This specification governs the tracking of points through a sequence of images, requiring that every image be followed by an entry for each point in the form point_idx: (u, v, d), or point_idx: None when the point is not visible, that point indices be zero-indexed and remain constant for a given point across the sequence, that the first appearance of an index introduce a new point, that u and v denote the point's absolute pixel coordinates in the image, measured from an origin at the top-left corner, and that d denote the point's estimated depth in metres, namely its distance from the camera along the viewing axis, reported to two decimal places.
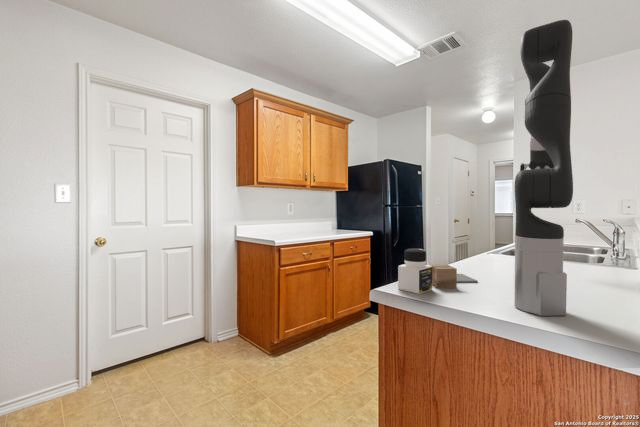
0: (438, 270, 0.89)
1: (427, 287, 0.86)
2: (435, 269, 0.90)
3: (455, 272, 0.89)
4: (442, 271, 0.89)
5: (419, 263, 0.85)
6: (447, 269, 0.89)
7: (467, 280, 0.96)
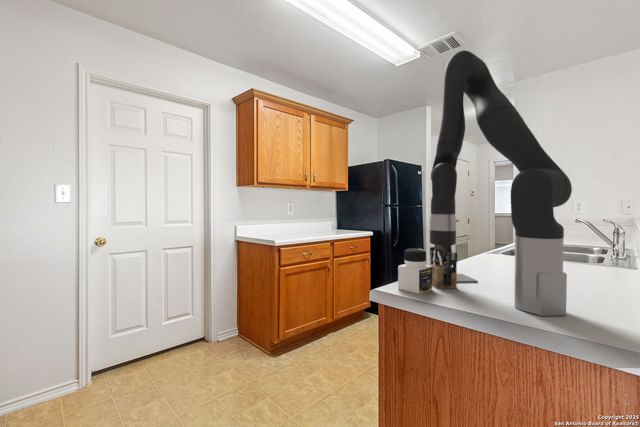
0: (438, 270, 0.89)
1: (427, 287, 0.86)
2: (435, 269, 0.90)
3: None
4: (442, 271, 0.89)
5: (419, 263, 0.85)
6: None
7: (467, 280, 0.96)
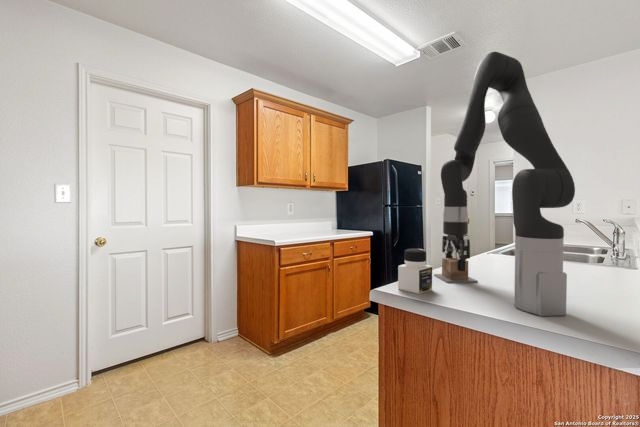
0: (451, 262, 0.97)
1: (427, 287, 0.86)
2: (448, 261, 0.98)
3: (467, 264, 0.98)
4: (455, 263, 0.97)
5: (419, 263, 0.85)
6: None
7: (467, 280, 0.96)
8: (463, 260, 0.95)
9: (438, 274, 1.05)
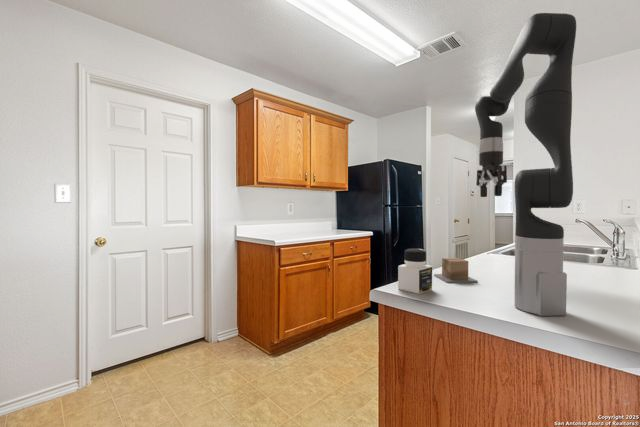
0: (451, 262, 0.97)
1: (427, 287, 0.86)
2: (448, 261, 0.98)
3: (467, 264, 0.98)
4: (455, 263, 0.97)
5: (419, 263, 0.85)
6: (460, 261, 0.98)
7: (467, 280, 0.96)
8: (500, 185, 1.03)
9: (438, 274, 1.05)
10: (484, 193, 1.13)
